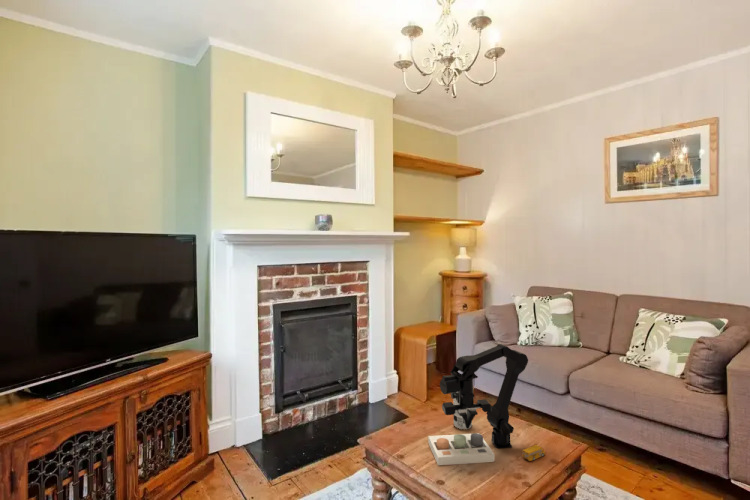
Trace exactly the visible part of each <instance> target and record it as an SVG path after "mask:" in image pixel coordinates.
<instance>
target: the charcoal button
mask: <svg viewBox="0 0 750 500" xmlns="http://www.w3.org/2000/svg"><path fill="white" fill-rule="evenodd" d="M470 434H471V445H473V446H476V447H475V448H481V446H483V439H484V436H483V434H481V433H480V434H478V432H477V433H476V432H475V433H470Z"/></svg>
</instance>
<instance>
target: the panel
mask: <svg viewBox="0 0 750 500" xmlns="http://www.w3.org/2000/svg"><path fill="white" fill-rule="evenodd" d="M477 433H478V432H477ZM471 434H472V433H461V435H464V436H465V437H466V447H464V448H458V447H456V446H454V435H455V434H445V435H443V434H441V435H428V436H427V437H428V438H427V439H428V441H427V442H428V445H429V448H430V450H431V452H432V455H433V457H434V459H435V461H436V464H437V466H447V465H449V466H450V465H463V464H466V465H467V464H478V463H479V464H480V463H491V462H492V463H493V462H495V452H493V450H492V448H491V447H490V446H489V444H488V443H487V442H486V441H485V438H483V446H481V447H476V446H473V445H471ZM478 434H481V433H480V432H479V433H478ZM439 438H445V439H447V440H448V441H449V450H437V439H439Z"/></svg>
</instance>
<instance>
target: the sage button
mask: <svg viewBox="0 0 750 500" xmlns="http://www.w3.org/2000/svg"><path fill="white" fill-rule="evenodd" d="M461 434H462V433H461ZM461 434H460V433H458V434H457V433H456V434H453V435H454V446H456V447H458V448H457V449H465V448H464V447H466V437H465V436H464V435H461Z"/></svg>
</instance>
